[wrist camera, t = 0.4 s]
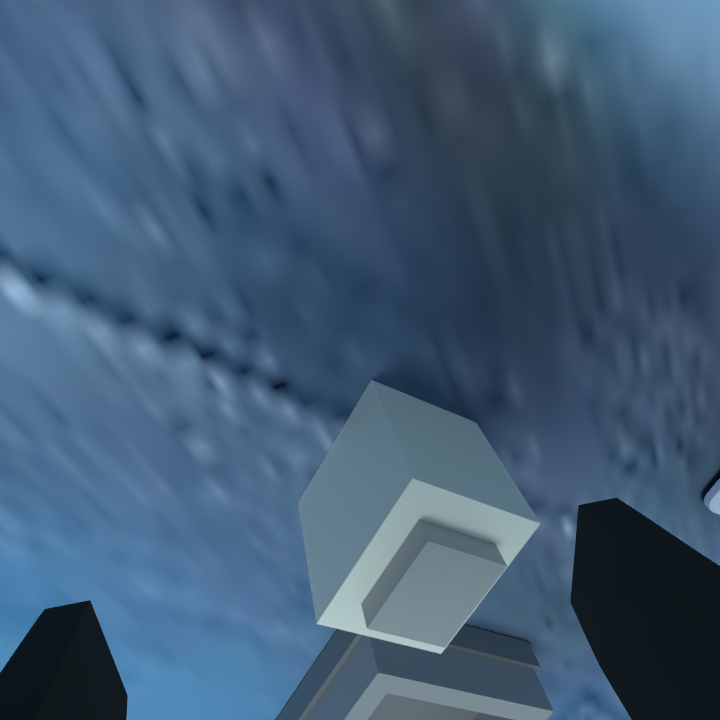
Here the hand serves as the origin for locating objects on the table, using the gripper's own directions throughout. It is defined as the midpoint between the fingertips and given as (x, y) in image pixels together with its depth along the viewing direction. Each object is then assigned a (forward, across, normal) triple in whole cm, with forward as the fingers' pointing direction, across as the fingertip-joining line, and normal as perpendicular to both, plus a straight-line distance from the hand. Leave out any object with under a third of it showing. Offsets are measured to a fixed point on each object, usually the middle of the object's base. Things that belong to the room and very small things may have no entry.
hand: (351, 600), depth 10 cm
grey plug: (+10, -2, +5) cm, 12 cm away
